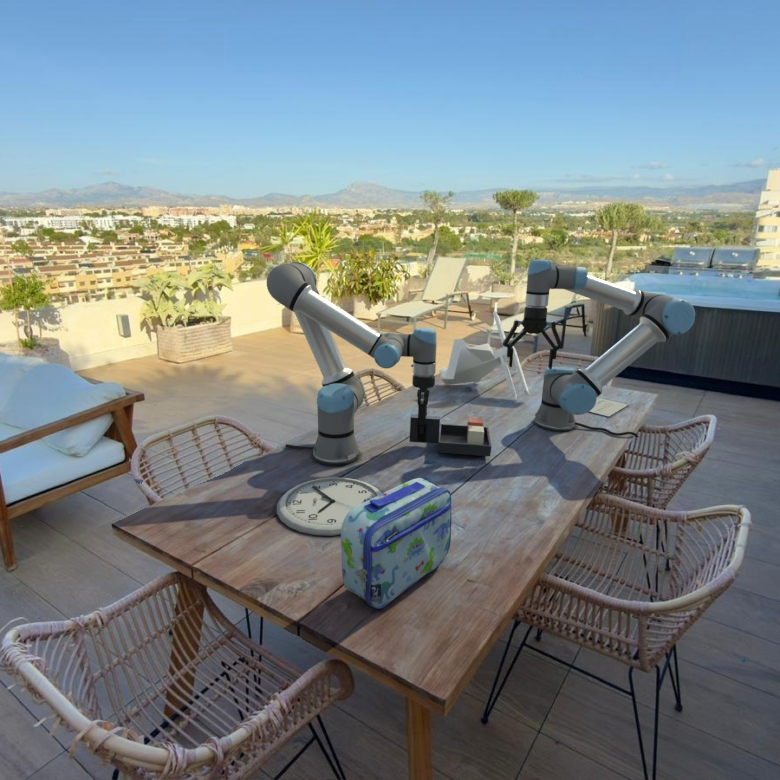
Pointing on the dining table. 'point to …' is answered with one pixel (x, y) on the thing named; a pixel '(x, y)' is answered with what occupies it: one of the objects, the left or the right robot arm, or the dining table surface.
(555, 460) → the dining table surface
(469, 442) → the cream block
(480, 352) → the white plastic object
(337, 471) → the dining table surface
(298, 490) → the wall clock
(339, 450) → the left robot arm
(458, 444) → the tray
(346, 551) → the lunch box
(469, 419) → the terracotta block
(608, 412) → the invitation card
